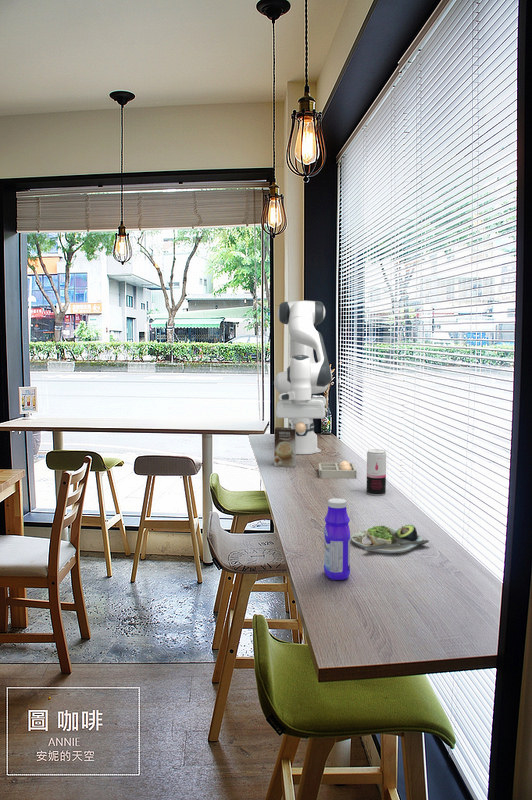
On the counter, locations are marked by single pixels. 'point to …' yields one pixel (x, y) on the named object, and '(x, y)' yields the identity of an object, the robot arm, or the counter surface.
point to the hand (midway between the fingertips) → (300, 429)
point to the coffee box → (285, 447)
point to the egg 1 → (300, 427)
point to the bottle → (337, 541)
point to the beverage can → (376, 472)
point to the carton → (336, 471)
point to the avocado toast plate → (389, 539)
